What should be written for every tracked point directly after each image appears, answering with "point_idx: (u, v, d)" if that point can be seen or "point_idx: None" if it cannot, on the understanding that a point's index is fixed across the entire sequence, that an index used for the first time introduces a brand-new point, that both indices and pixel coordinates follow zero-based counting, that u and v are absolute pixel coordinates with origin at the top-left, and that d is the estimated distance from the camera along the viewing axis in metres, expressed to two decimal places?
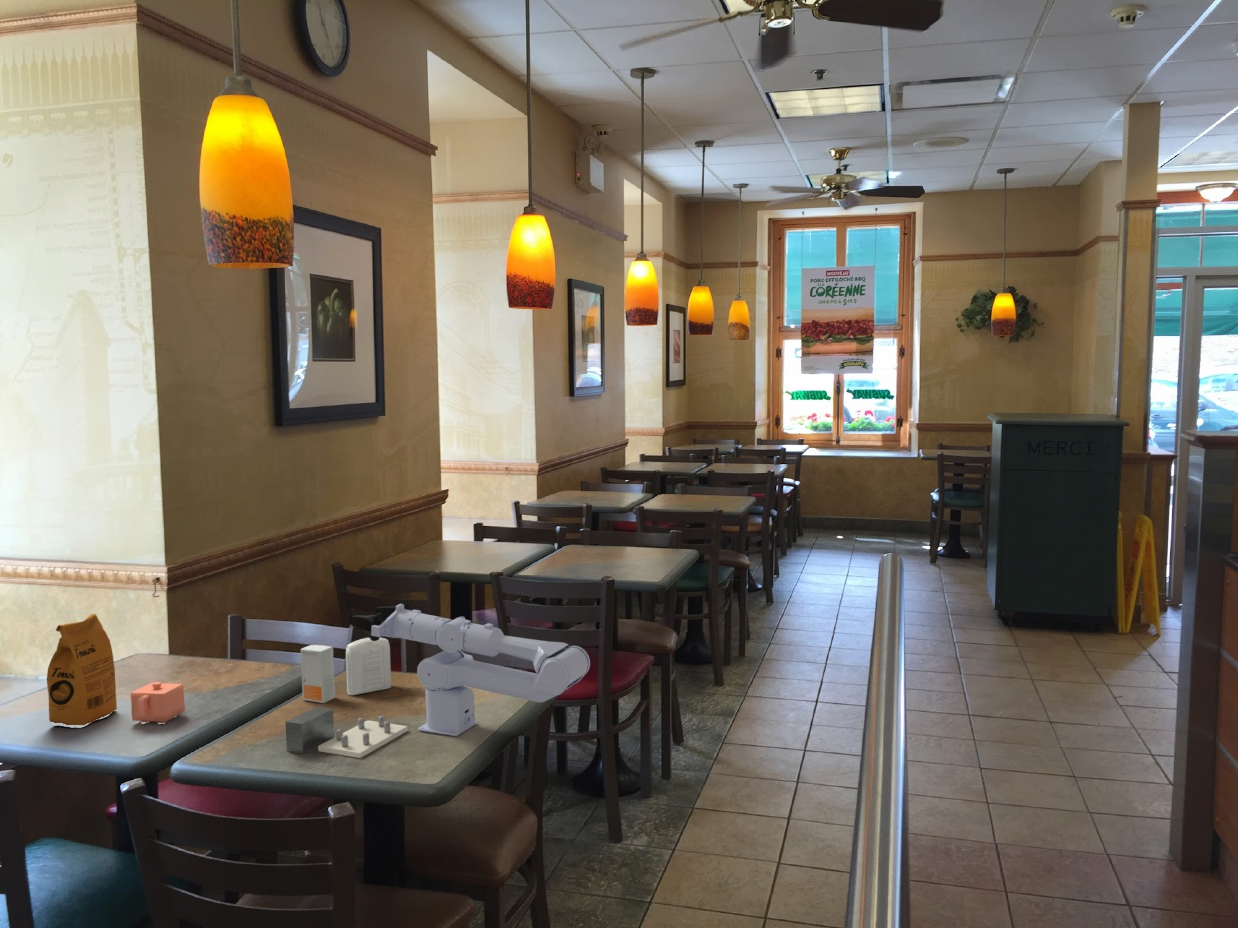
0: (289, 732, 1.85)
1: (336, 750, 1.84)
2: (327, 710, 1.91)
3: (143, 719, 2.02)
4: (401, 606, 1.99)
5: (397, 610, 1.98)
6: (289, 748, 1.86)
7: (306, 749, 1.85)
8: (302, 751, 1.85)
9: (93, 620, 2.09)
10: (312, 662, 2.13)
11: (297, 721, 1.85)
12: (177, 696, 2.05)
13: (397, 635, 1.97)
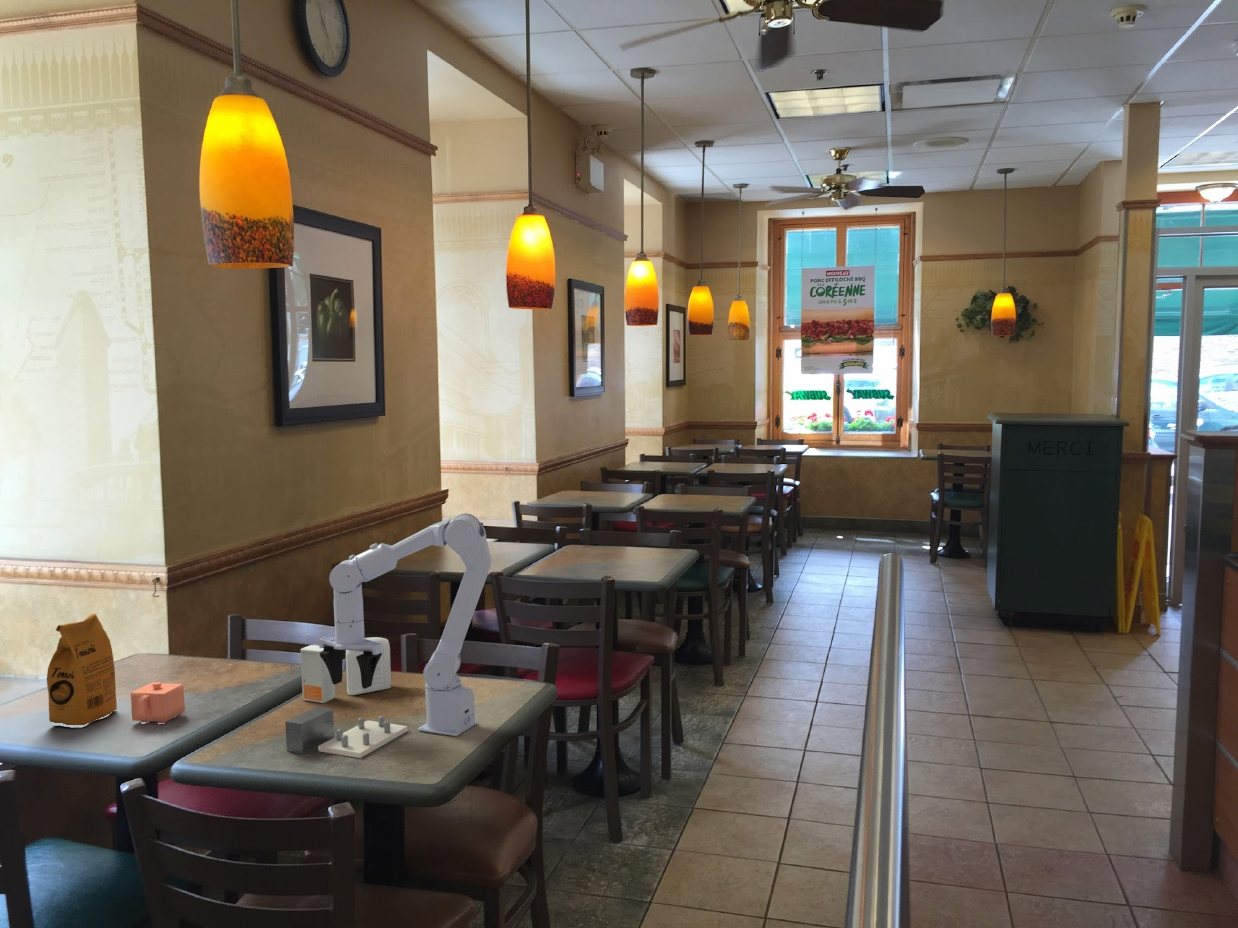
0: (289, 732, 1.85)
1: (336, 750, 1.84)
2: (327, 710, 1.91)
3: (143, 719, 2.02)
4: (337, 645, 1.92)
5: (344, 645, 1.92)
6: (289, 748, 1.86)
7: (306, 749, 1.85)
8: (302, 751, 1.85)
9: (93, 620, 2.09)
10: (312, 662, 2.13)
11: (297, 721, 1.85)
12: (177, 696, 2.05)
13: None
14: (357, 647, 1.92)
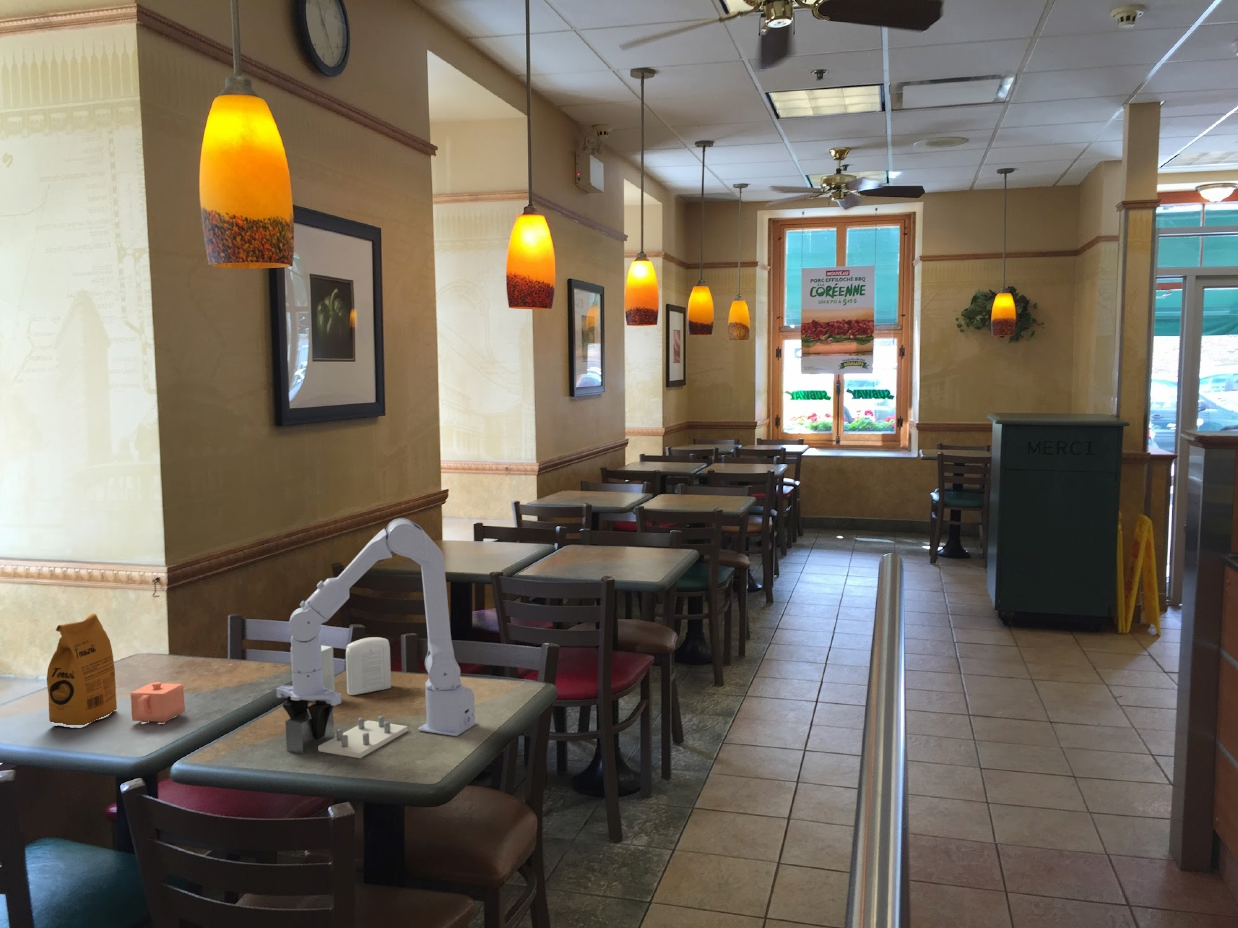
0: (289, 731, 1.85)
1: (336, 750, 1.84)
2: None
3: (143, 719, 2.02)
4: (294, 696, 1.85)
5: (301, 696, 1.85)
6: (289, 748, 1.86)
7: (306, 749, 1.85)
8: (302, 750, 1.85)
9: (93, 620, 2.09)
10: None
11: (297, 720, 1.85)
12: (177, 696, 2.05)
13: None
14: (315, 698, 1.85)
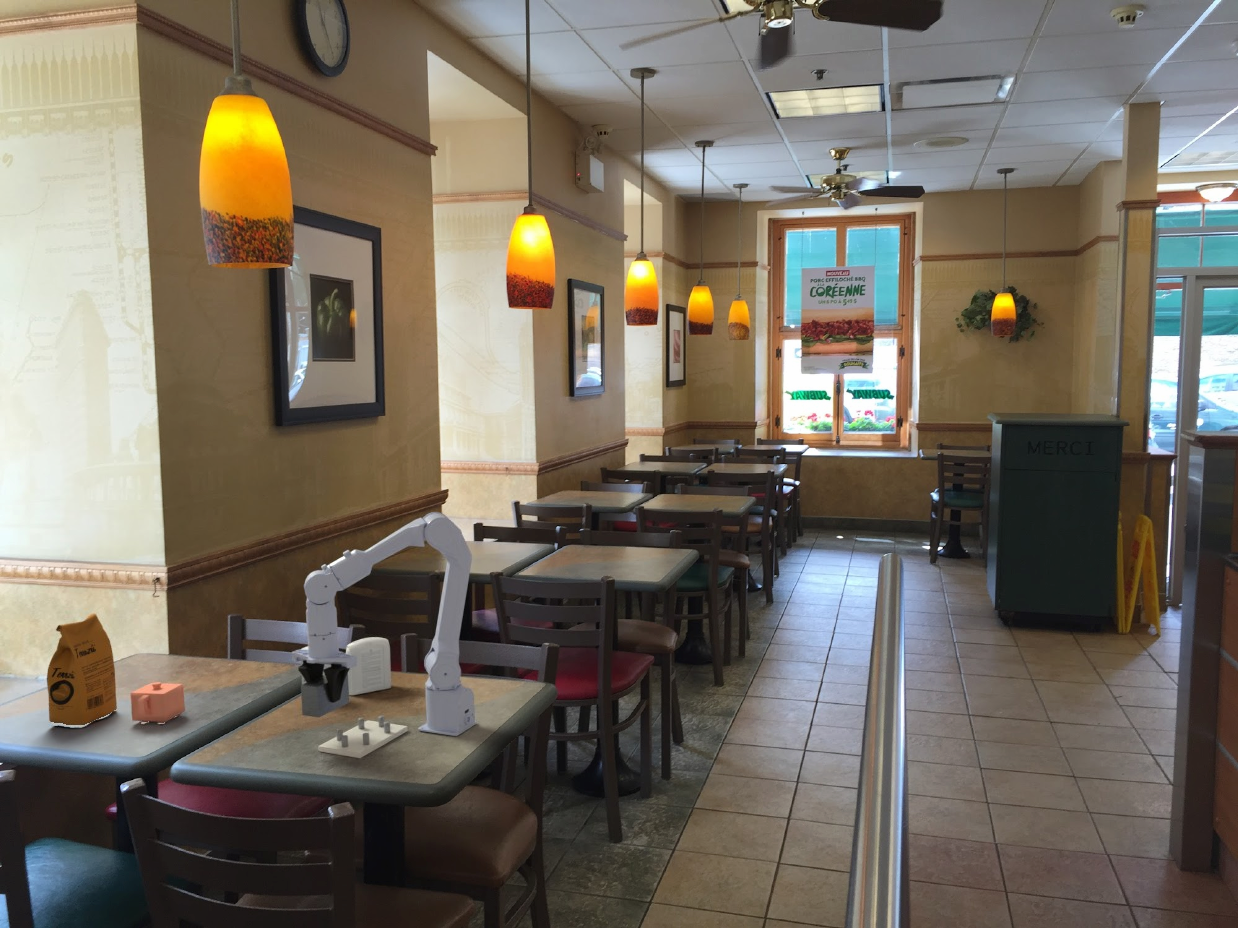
0: (304, 695, 1.85)
1: (336, 750, 1.84)
2: None
3: (143, 719, 2.02)
4: (310, 659, 1.85)
5: (317, 659, 1.85)
6: (304, 712, 1.85)
7: (322, 713, 1.85)
8: (318, 714, 1.84)
9: (93, 620, 2.09)
10: None
11: (312, 684, 1.85)
12: (177, 696, 2.05)
13: (338, 648, 1.89)
14: (331, 660, 1.85)
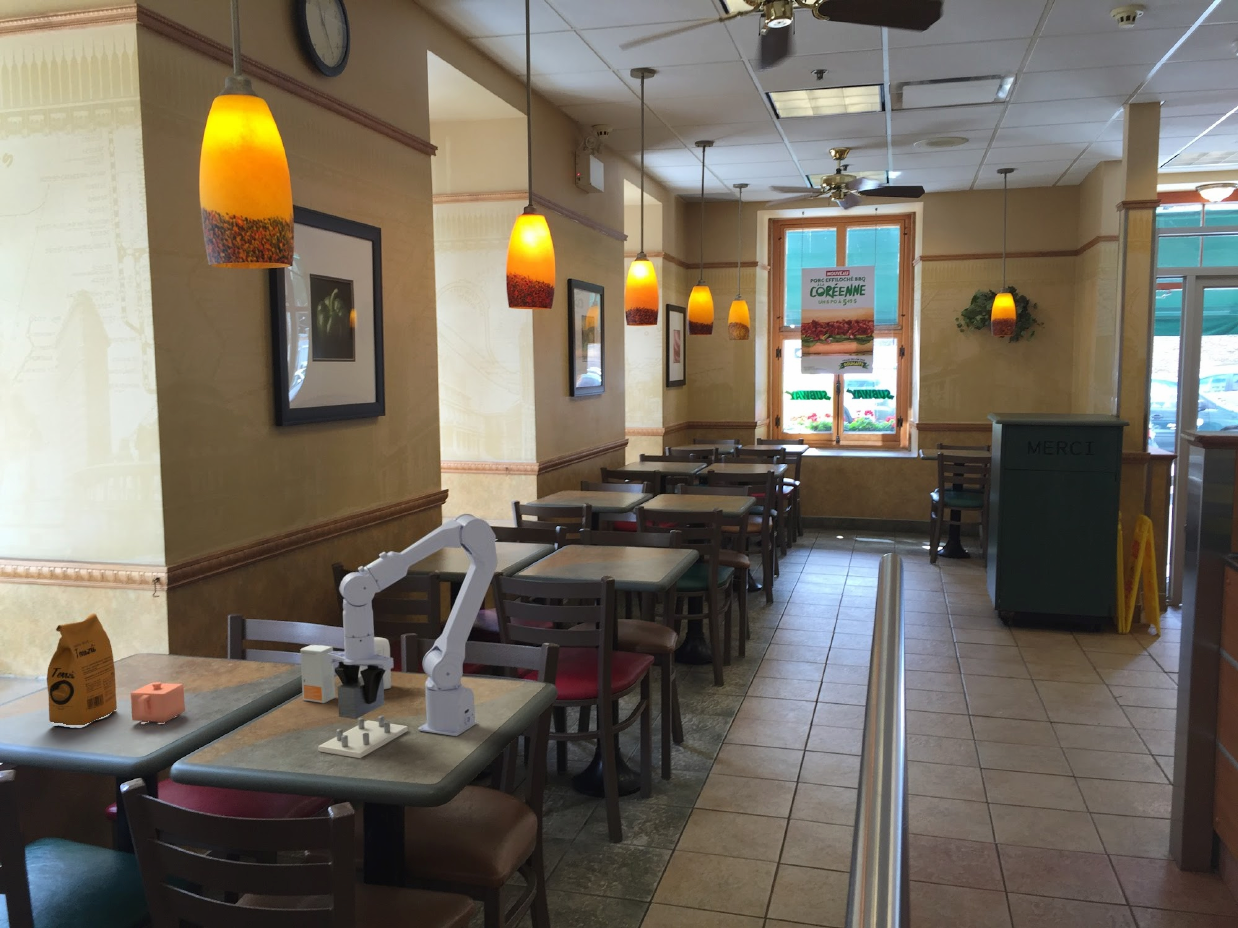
0: (341, 697, 1.86)
1: (336, 750, 1.84)
2: None
3: (143, 719, 2.02)
4: (347, 660, 1.86)
5: (354, 661, 1.86)
6: (341, 714, 1.86)
7: (359, 715, 1.86)
8: (354, 716, 1.85)
9: (93, 620, 2.09)
10: (312, 662, 2.13)
11: (349, 686, 1.86)
12: (178, 696, 2.05)
13: (374, 650, 1.90)
14: (367, 662, 1.86)
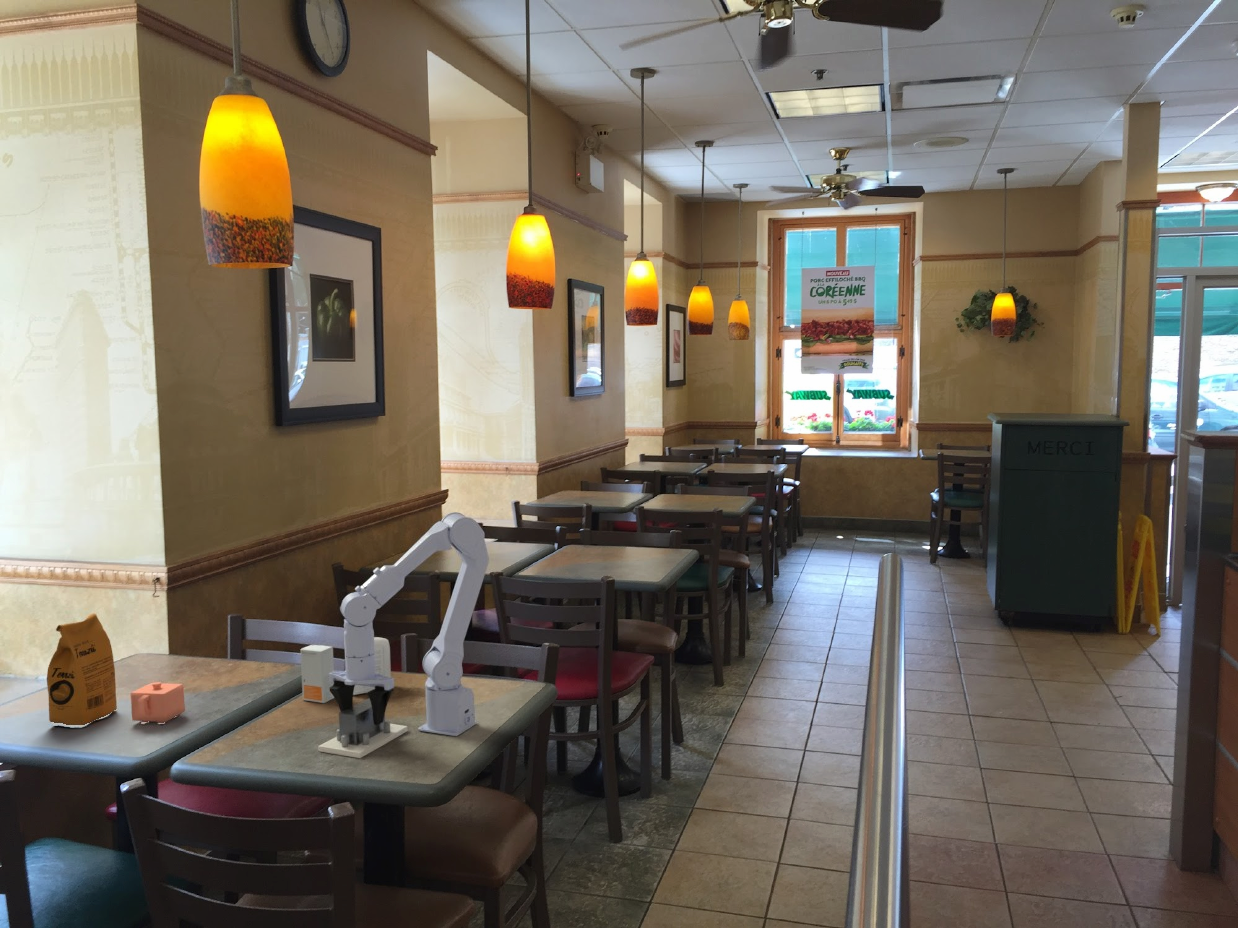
0: (342, 723, 1.86)
1: (336, 750, 1.84)
2: None
3: (143, 719, 2.02)
4: (348, 680, 1.86)
5: (355, 681, 1.86)
6: None
7: (360, 741, 1.86)
8: (356, 742, 1.85)
9: (93, 620, 2.09)
10: (312, 662, 2.13)
11: (350, 712, 1.86)
12: (177, 696, 2.05)
13: (375, 669, 1.90)
14: (368, 682, 1.86)
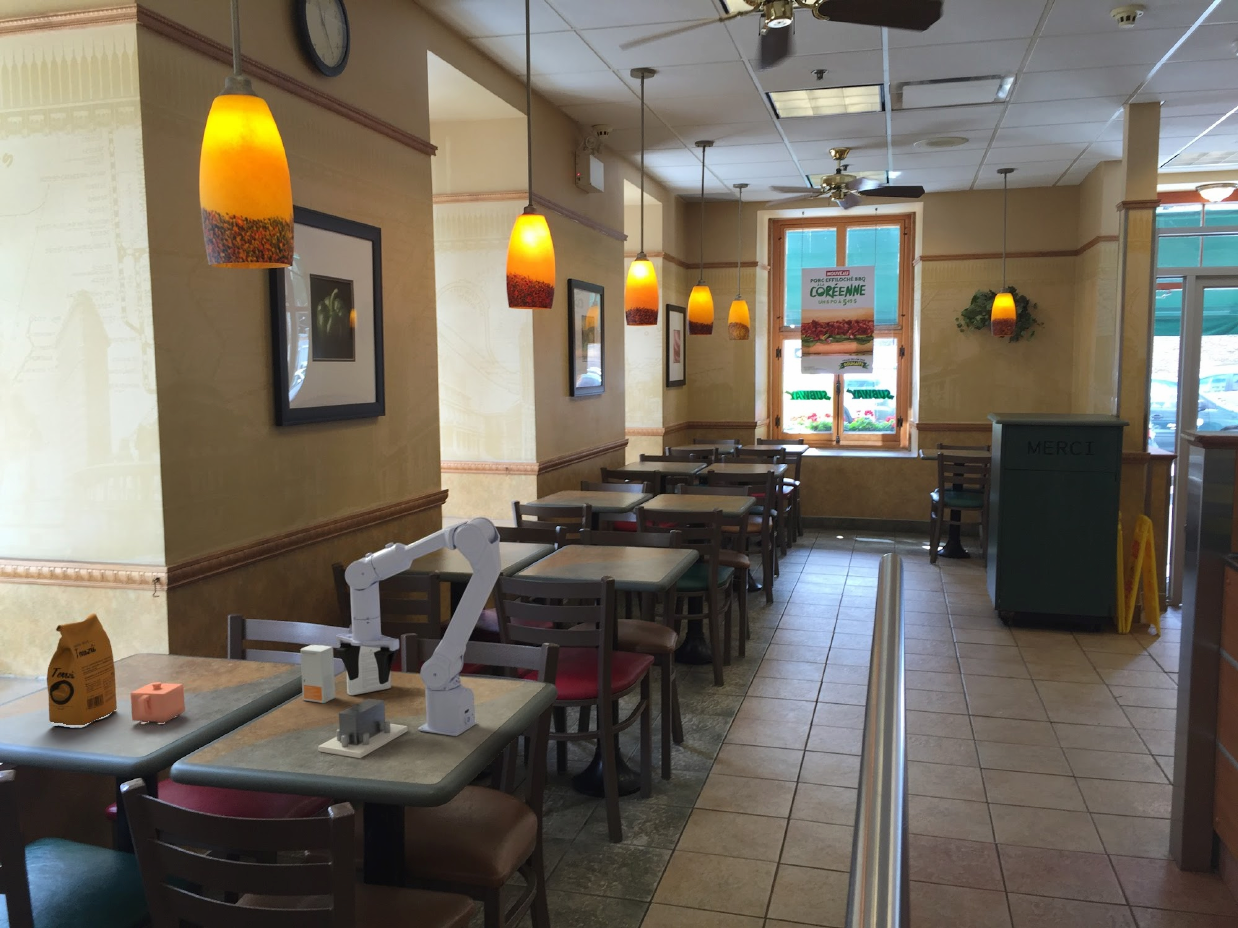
0: (342, 723, 1.86)
1: (336, 750, 1.84)
2: (379, 702, 1.92)
3: (143, 719, 2.02)
4: (355, 641, 1.94)
5: (361, 642, 1.94)
6: None
7: (360, 741, 1.86)
8: (356, 742, 1.85)
9: (93, 620, 2.09)
10: (312, 662, 2.13)
11: (350, 712, 1.86)
12: (177, 696, 2.05)
13: None
14: (374, 643, 1.94)
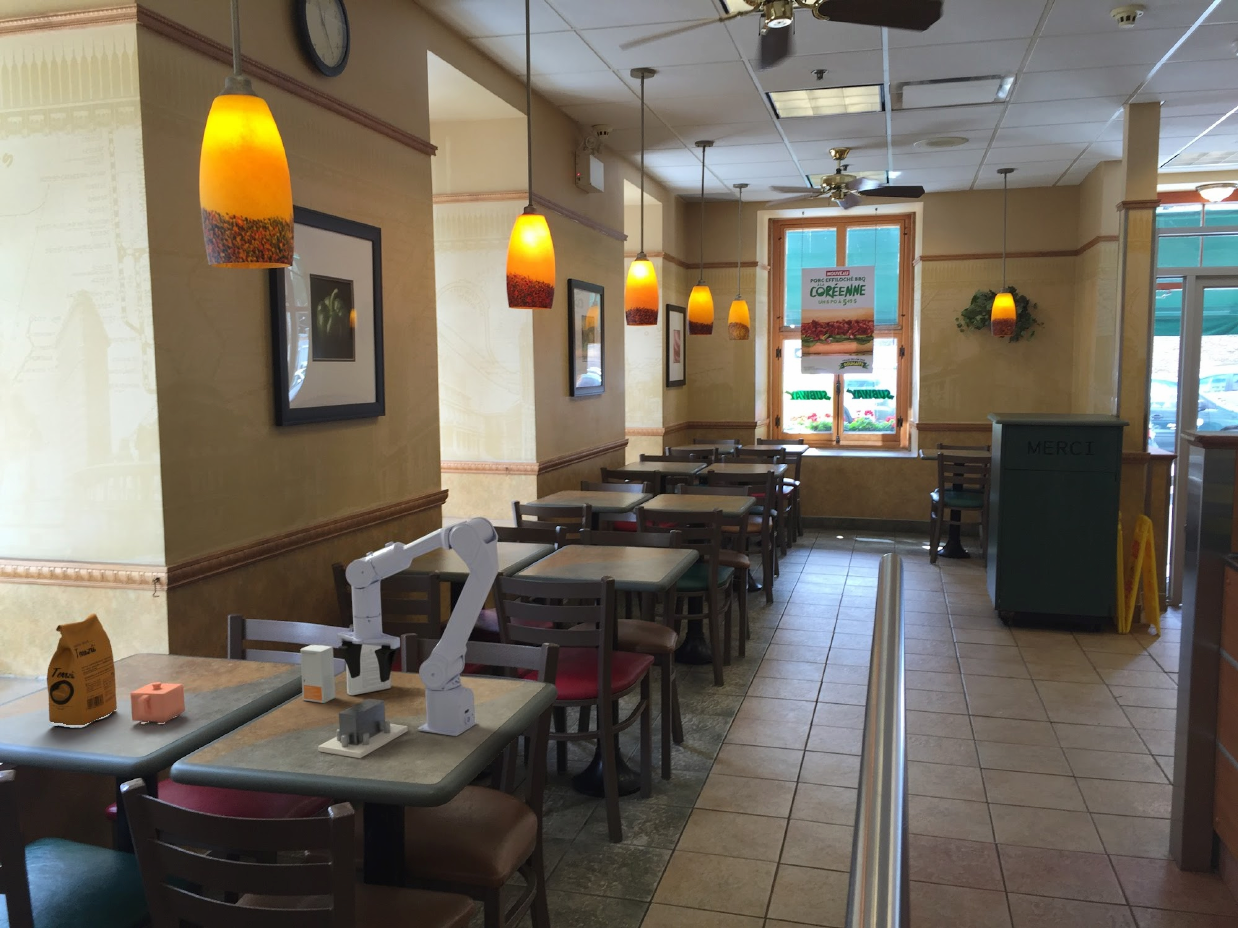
0: (342, 723, 1.86)
1: (336, 750, 1.84)
2: (379, 702, 1.92)
3: (143, 719, 2.02)
4: (356, 640, 1.96)
5: (363, 640, 1.96)
6: None
7: (360, 741, 1.86)
8: (356, 742, 1.85)
9: (93, 620, 2.09)
10: (312, 662, 2.13)
11: (350, 712, 1.86)
12: (177, 696, 2.05)
13: None
14: (375, 641, 1.96)
